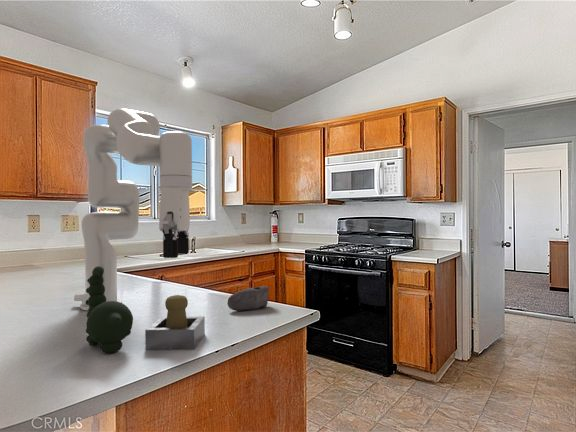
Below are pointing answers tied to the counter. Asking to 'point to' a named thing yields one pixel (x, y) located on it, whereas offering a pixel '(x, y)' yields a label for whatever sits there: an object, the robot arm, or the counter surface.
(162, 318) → the metal open box
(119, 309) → the toy figurine
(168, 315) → the cork
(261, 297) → the perforated stone tool
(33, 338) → the counter surface
